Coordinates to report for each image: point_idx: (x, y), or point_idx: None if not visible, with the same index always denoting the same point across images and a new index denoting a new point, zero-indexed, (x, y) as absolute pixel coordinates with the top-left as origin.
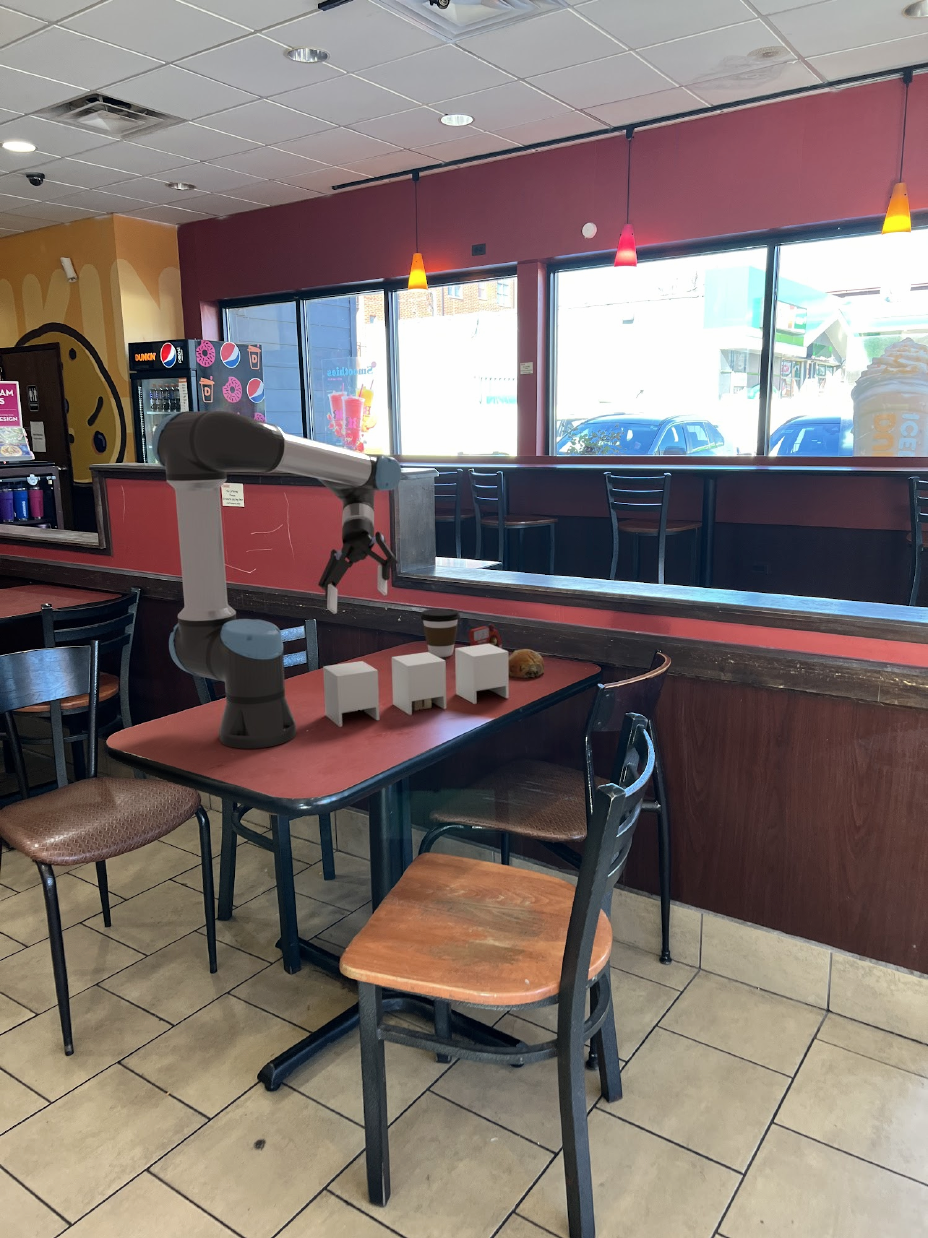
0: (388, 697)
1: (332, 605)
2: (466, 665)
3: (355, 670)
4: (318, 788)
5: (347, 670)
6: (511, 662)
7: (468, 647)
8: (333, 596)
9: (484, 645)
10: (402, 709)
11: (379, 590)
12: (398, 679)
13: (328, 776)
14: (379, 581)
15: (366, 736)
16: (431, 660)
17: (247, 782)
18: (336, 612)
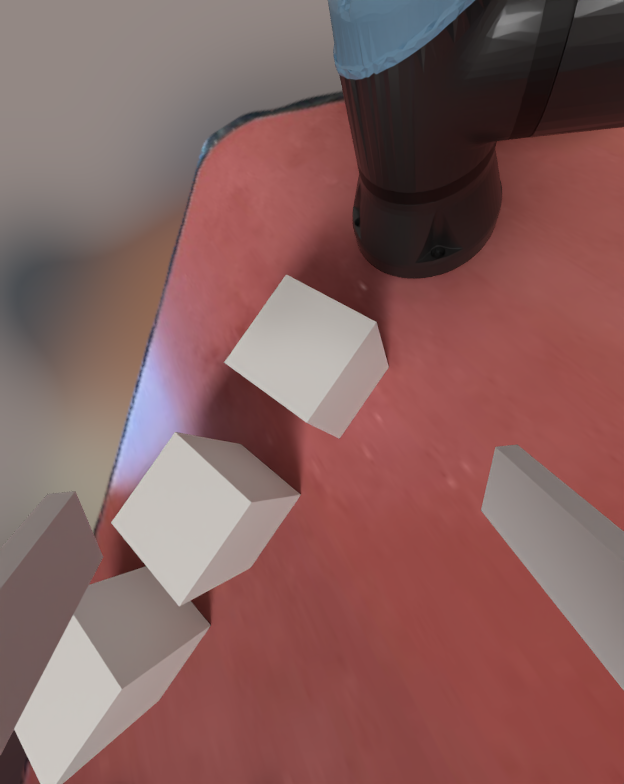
0: (336, 540)
1: (511, 493)
2: (113, 614)
3: (273, 334)
4: (223, 160)
5: (291, 324)
6: None
7: (90, 714)
8: (581, 576)
9: (55, 760)
10: (263, 463)
11: (74, 505)
12: (245, 472)
13: (230, 187)
14: (8, 552)
15: (256, 316)
16: (141, 510)
17: (307, 118)
18: (482, 508)
